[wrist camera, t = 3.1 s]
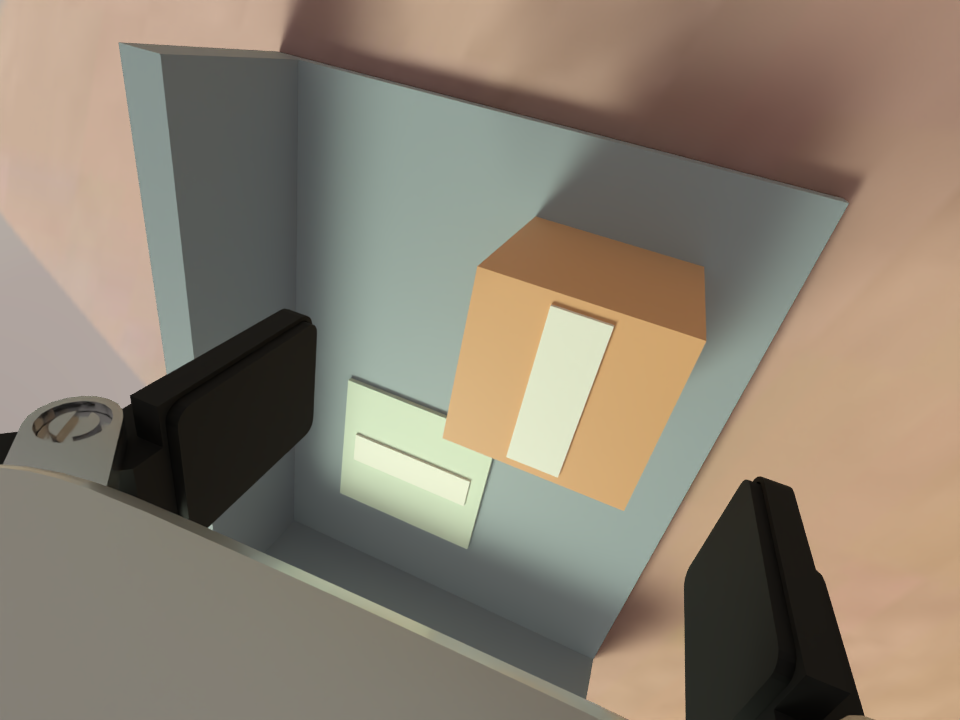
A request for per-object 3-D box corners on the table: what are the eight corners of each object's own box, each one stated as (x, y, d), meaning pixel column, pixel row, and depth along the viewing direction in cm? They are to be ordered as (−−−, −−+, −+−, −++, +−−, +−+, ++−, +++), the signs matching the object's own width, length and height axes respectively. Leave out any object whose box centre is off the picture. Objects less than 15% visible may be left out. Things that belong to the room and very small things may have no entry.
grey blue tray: (278, 51, 17) (118, 42, 12) (843, 198, 13) (919, 262, 9) (282, 518, 28) (200, 605, 24) (587, 661, 25) (562, 794, 20)
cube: (535, 216, 16) (475, 267, 12) (704, 266, 15) (706, 343, 11) (500, 356, 18) (441, 440, 14) (641, 407, 17) (623, 513, 13)
